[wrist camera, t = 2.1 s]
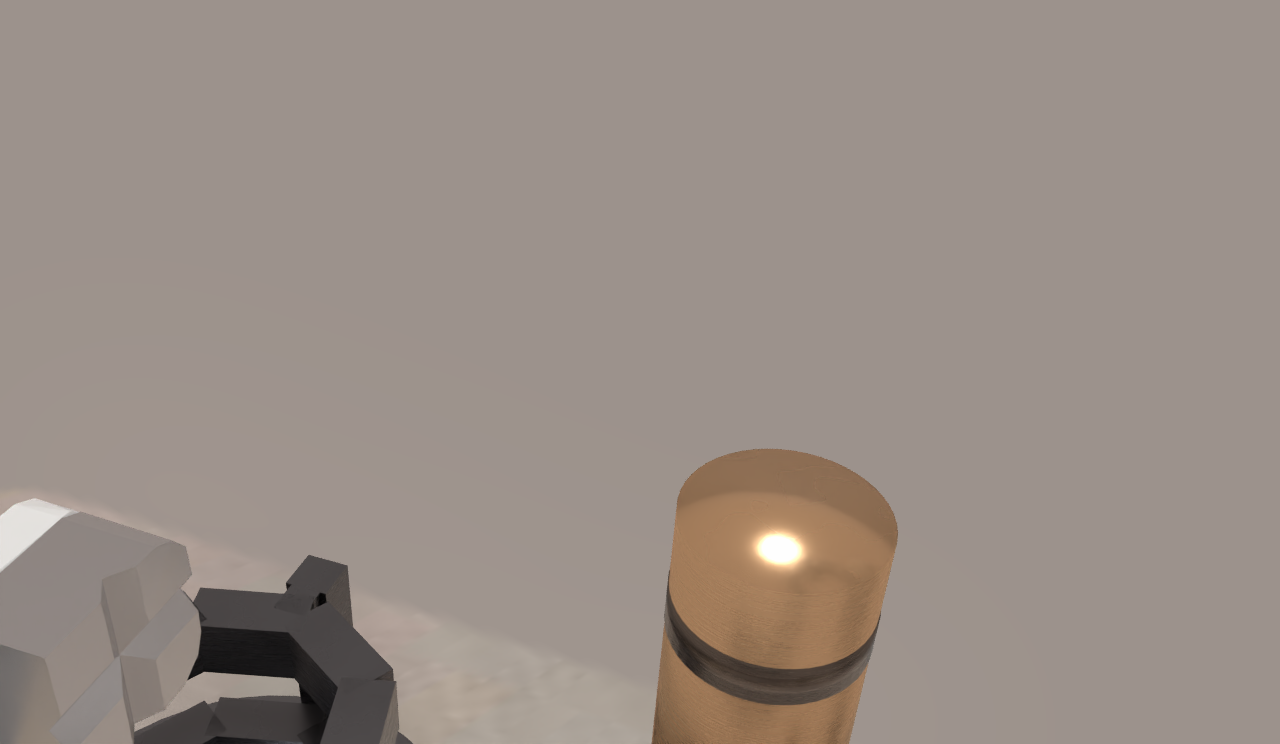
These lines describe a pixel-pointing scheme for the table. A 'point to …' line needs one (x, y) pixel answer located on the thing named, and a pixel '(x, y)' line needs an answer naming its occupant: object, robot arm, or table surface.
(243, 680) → the table surface
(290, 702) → the collar stand
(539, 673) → the table surface
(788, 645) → the tube
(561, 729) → the table surface
